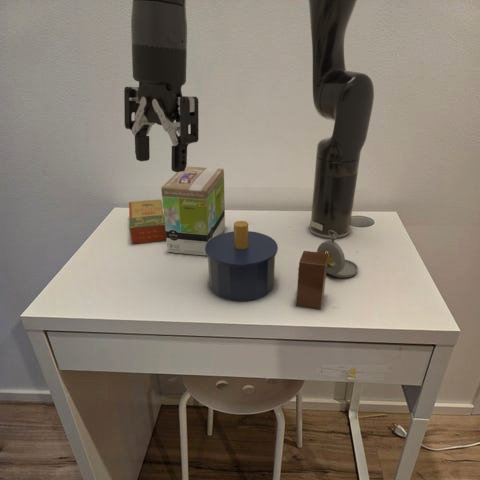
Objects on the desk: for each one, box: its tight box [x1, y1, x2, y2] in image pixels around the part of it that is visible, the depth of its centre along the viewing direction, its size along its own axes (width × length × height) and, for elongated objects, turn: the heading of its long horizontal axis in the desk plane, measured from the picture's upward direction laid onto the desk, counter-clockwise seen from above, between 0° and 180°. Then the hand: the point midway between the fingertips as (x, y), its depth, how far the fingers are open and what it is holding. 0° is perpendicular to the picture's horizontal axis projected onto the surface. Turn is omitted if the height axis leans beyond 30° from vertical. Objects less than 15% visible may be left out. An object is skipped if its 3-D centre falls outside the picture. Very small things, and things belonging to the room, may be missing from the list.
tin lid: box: [205, 220, 279, 267], centre depth 79 cm, size 13×13×6 cm
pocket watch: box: [316, 230, 359, 278], centre depth 85 cm, size 8×8×10 cm
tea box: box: [160, 166, 226, 256], centre depth 97 cm, size 15×10×15 cm, turn 168°
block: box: [295, 250, 329, 310], centre depth 77 cm, size 4×4×9 cm
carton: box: [128, 199, 167, 245], centre depth 105 cm, size 8×16×4 cm, turn 12°
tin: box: [207, 255, 276, 302], centre depth 83 cm, size 12×12×8 cm
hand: (159, 165), depth 68 cm, fingers open, 8 cm apart
